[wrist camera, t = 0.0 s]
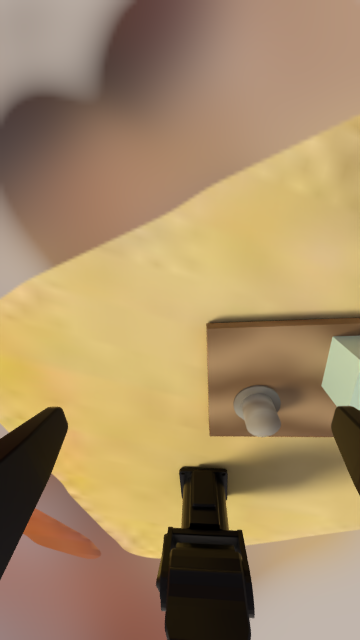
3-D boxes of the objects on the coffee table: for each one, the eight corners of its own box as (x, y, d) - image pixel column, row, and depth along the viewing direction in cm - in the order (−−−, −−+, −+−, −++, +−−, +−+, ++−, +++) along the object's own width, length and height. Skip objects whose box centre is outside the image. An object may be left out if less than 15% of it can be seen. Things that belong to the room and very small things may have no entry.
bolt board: (367, 428, 26) (395, 462, 22) (209, 427, 28) (211, 459, 24) (407, 315, 20) (453, 336, 17) (206, 323, 22) (208, 344, 18)
